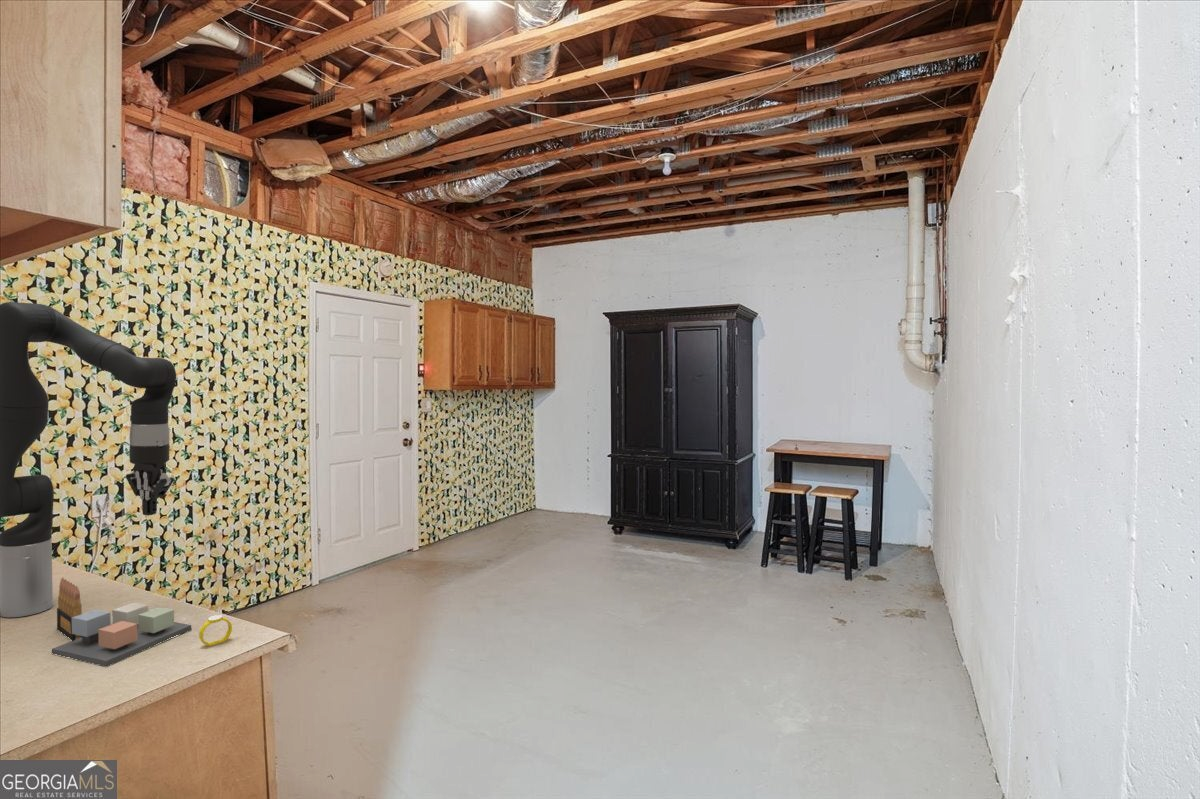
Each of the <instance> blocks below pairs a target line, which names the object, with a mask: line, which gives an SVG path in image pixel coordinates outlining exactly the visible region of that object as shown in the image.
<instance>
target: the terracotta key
mask: <svg viewBox="0 0 1200 799" xmlns="http://www.w3.org/2000/svg"><path fill="white" fill-rule="evenodd" d="M98 633H99V646H101V647H106V648H111V649H117V648H119V647H121V646H124V645H126V644H129V643H131V642H134V641H136V640H138V631H137V624H136V623H131V622H125V621H120V622H117V623H115V624H113V623H111V625H109V626H107V627H104V628H101V629H98Z"/></svg>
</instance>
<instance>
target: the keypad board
mask: <svg viewBox="0 0 1200 799" xmlns="http://www.w3.org/2000/svg"><path fill="white" fill-rule="evenodd" d="M137 631H138V640H136V641H134V642H131V643H129V644H126V645H124V646H121V647H119V648H117V649H111V648H106V647H101V646H99V633H96V634H94V635H91V636H88V637H85V636H82V638H79V639H76V640H74V641H71V640H70V641H68V642H66V643H63V644H61V645H57V646H55V647H53V648H51V654H52V653H53V654H57V655H61V656H60V657H62V656H65V657H64V658H66V657H70V658H73V659H72V660H75V659H77V660H76V661H79V660H81V661H80V662H83V661H86V662H85V663H88V662H90V663H89V664H92V663H94V664H93V665H96V664H100V665H99V666H101V665H103V666H102V667H105V666H107V667H109V666H111V665H110V664H112V665H113V663H114V664H116V663H118V661H119V662H121V661H123V660H125V659H124V658H126V659H127V657H128V658H130V657H132V656H131V655H133V656H134V654H135V655H137V654H139V653H138V652H140V651H142V650H144V649H146V650H148V649H147V648H149V647H151V646H153V647H155V646H154V645H156V644H158V643H160V642H163V641H165V640H167V639H169V638H171V637H174V636H176V635H179V634H181V635H183V634H182V633H184V632H186V633H188V632H191V631H192V625H191V624H186V623H183V622H176V621H174V625H173V626H170V627H168V628H165V629H163V630H160V631H158V632H156V633H150V632H145V631H140V630H138V624H137ZM187 631H188V632H187ZM184 634H185V633H184ZM179 636H180V635H179ZM174 638H175V637H174ZM167 641H168V640H167ZM165 642H166V641H165ZM163 643H164V642H163ZM160 644H161V643H160ZM158 645H159V644H158ZM156 646H157V645H156ZM151 648H152V647H151ZM149 649H150V648H149ZM144 651H145V650H144ZM142 652H143V651H142ZM136 653H137V654H136ZM140 653H141V652H140ZM53 654H52V655H53ZM57 655H56V656H57ZM129 656H130V657H129ZM70 658H69V659H70ZM122 659H123V660H122ZM120 660H121V661H120ZM108 665H109V666H108Z"/></svg>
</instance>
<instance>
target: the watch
mask: <svg viewBox="0 0 1200 799" xmlns="http://www.w3.org/2000/svg"><path fill="white" fill-rule="evenodd" d="M222 621H224V622H225V623H227V626H228V627H227V628H228V629H227V631H226V634H225V635H224V636H223V637H222V638H221V639H217V640H214V641H211V642H208V641H205V639H204V632H205V630H206V628H207V627H208V626H209V625H210V624H216V623H219V622H222ZM232 632H233V626H232V623H231V621H230V620H229V619H228V618H226V617H225V616H223V615H222V614H215V615H212V616H209V617H208V618H207V621H206V622H204V624H202V626H201V627H200V629H199V634H198V636H199V640H200V642H201V643H203V645H205V646H207V647H212V646H215V645H218V644H221V643H226V641H227V640H228V639H229V638H230V637H231V634H232Z"/></svg>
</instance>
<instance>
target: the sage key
mask: <svg viewBox="0 0 1200 799" xmlns="http://www.w3.org/2000/svg"><path fill="white" fill-rule="evenodd" d="M174 622H175V610H174V609H171V608H167V607H160V606H158V607H155V608H152V609H149V610H148V611H147V612H144V613H142V614H139V615H138V630H140V631H145V632H150V633H156V632H158V631H160V630H163V629H165V628H168V627H170V626H173V625H174Z"/></svg>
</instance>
